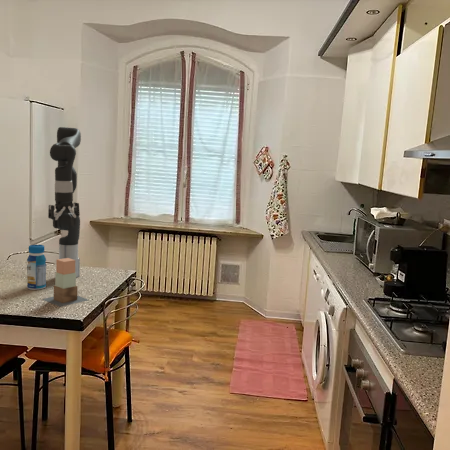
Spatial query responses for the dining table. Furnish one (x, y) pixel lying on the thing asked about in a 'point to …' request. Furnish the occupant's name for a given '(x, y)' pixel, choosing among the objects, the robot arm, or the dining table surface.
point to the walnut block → (65, 294)
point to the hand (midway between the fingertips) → (64, 227)
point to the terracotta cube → (65, 266)
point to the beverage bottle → (36, 268)
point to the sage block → (65, 280)
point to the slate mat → (79, 299)
